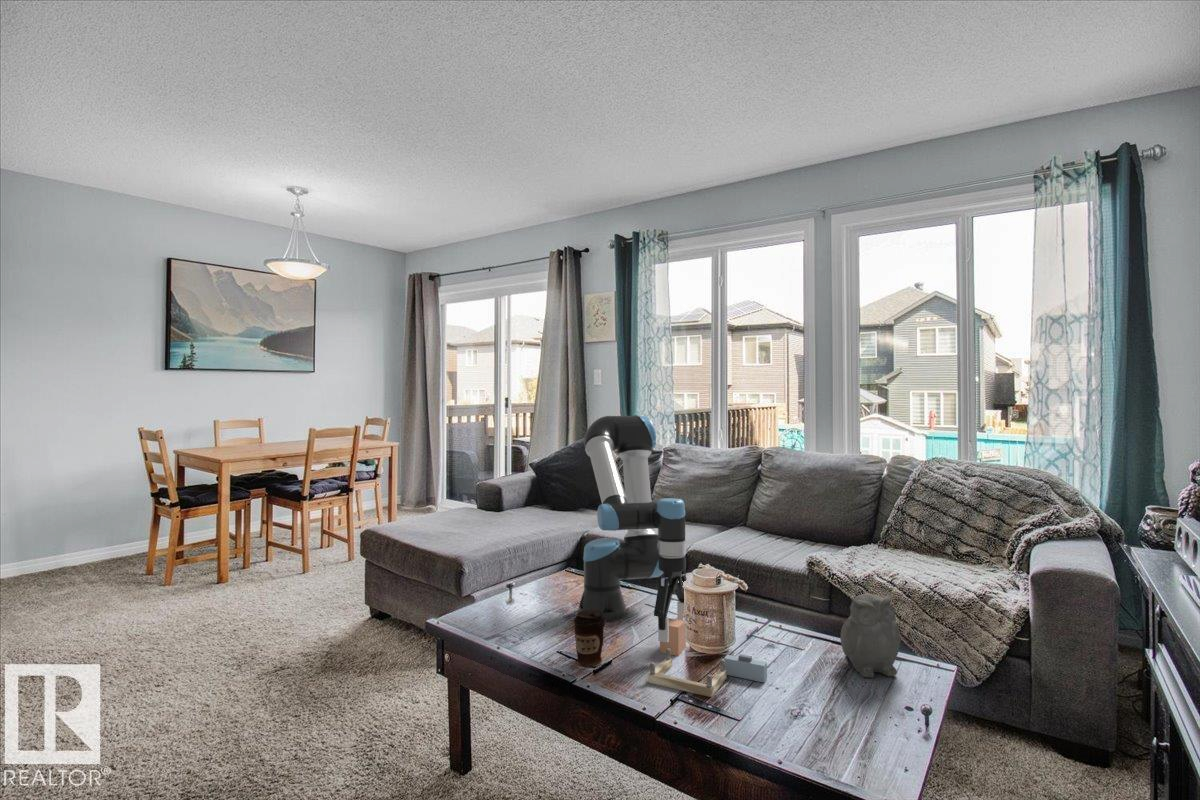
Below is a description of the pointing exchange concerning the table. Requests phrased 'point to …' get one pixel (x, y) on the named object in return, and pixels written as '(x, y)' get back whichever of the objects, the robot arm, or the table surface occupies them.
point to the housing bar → (746, 667)
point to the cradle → (681, 684)
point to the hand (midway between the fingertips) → (673, 633)
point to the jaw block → (675, 638)
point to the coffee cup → (589, 637)
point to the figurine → (871, 635)
